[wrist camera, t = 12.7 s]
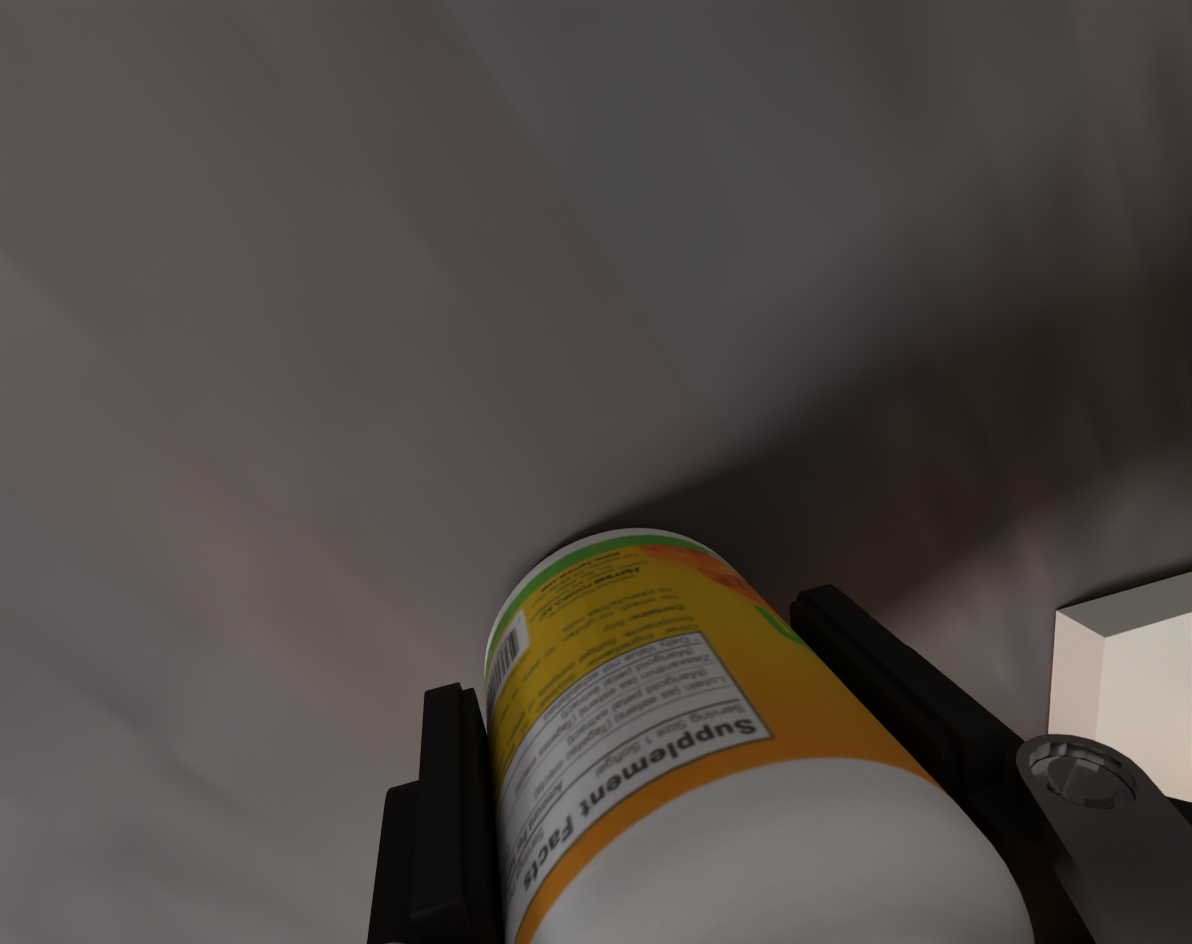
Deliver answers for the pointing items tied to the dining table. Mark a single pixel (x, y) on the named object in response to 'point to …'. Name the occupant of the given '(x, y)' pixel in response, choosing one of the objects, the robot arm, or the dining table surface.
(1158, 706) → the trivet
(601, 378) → the dining table surface
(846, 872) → the supplement bottle
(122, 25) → the dining table surface
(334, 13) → the dining table surface
